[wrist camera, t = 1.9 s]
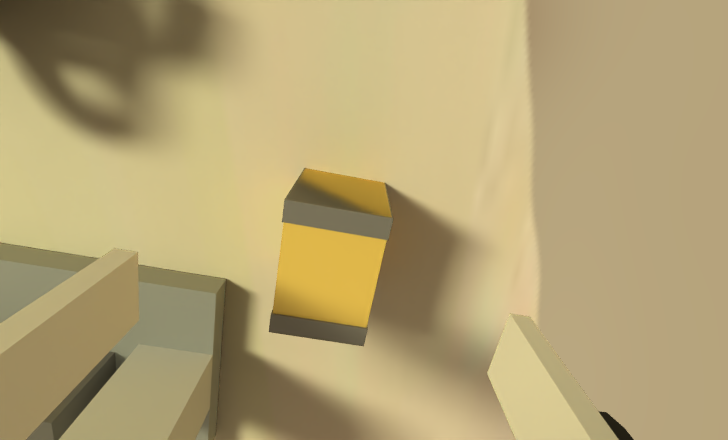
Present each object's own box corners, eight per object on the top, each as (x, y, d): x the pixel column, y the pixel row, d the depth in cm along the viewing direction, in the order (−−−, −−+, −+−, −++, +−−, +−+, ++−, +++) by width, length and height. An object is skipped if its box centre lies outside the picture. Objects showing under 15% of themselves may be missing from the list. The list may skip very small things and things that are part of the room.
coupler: (290, 272, 21) (268, 331, 16) (304, 168, 18) (284, 199, 14) (363, 284, 21) (363, 346, 16) (385, 182, 19) (393, 218, 14)
